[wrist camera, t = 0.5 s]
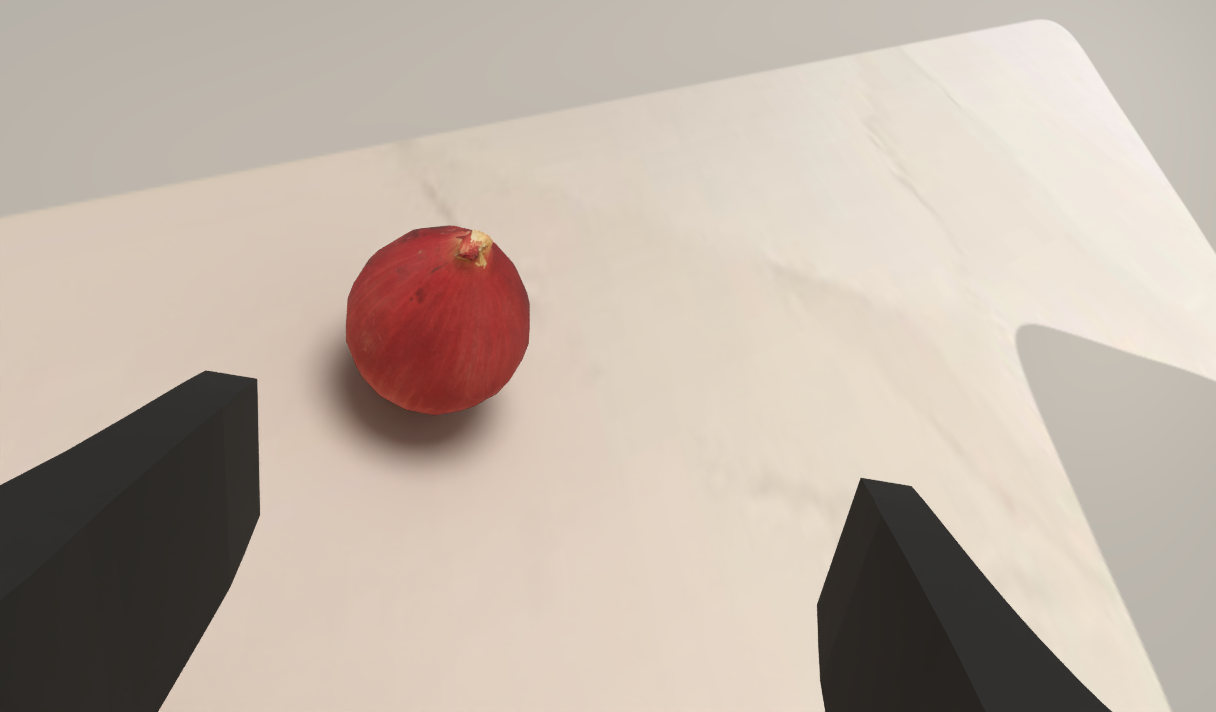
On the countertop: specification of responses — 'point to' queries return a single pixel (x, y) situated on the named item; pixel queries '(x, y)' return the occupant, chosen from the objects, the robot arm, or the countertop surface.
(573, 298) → the countertop surface
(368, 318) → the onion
